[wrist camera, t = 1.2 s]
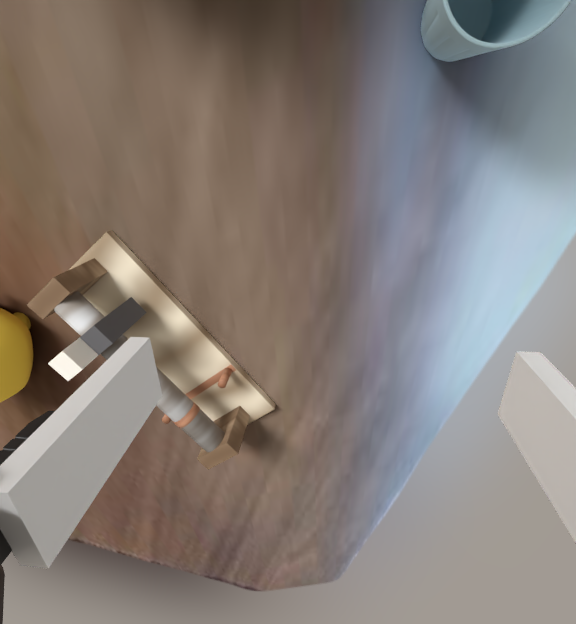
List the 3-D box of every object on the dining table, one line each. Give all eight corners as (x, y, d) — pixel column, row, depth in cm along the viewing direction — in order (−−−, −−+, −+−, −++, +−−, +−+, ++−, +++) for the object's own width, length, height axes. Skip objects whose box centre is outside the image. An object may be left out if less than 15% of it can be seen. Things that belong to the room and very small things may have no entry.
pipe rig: (52, 289, 44) (0, 316, 37) (111, 230, 39) (65, 248, 33) (212, 440, 51) (194, 485, 45) (275, 404, 47) (266, 447, 41)
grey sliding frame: (94, 328, 42) (34, 375, 34) (131, 296, 40) (76, 338, 31) (109, 342, 43) (54, 392, 34) (146, 312, 41) (97, 357, 32)
